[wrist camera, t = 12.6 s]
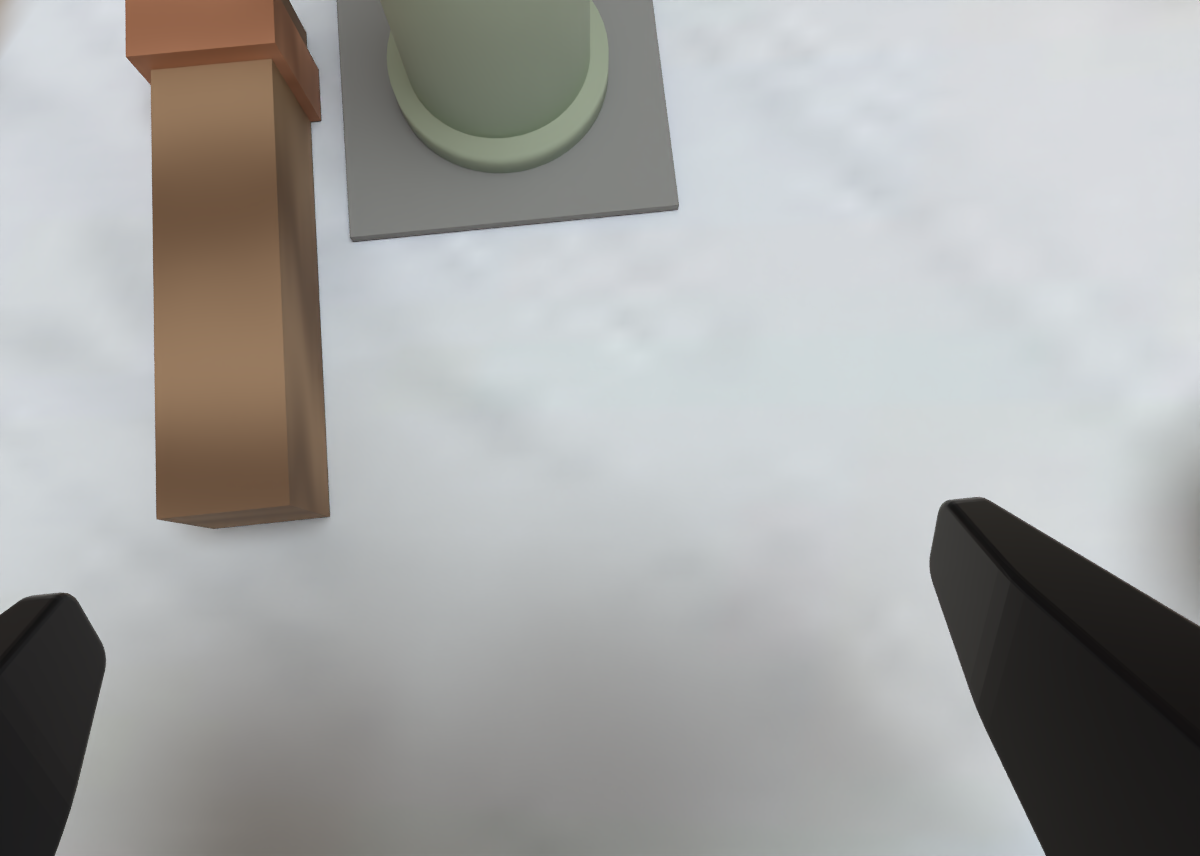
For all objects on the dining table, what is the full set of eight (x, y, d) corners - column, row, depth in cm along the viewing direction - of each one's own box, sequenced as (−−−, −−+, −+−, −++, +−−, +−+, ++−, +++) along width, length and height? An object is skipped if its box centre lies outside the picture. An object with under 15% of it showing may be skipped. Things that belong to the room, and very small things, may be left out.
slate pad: (678, 209, 24) (678, 204, 24) (353, 241, 24) (350, 237, 24) (641, -75, 26) (641, -83, 26) (336, -47, 26) (333, -54, 26)
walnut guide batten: (341, 515, 23) (294, 501, 19) (202, 530, 23) (129, 518, 19) (316, 31, 25) (270, -59, 22) (191, 43, 25) (125, -46, 22)
